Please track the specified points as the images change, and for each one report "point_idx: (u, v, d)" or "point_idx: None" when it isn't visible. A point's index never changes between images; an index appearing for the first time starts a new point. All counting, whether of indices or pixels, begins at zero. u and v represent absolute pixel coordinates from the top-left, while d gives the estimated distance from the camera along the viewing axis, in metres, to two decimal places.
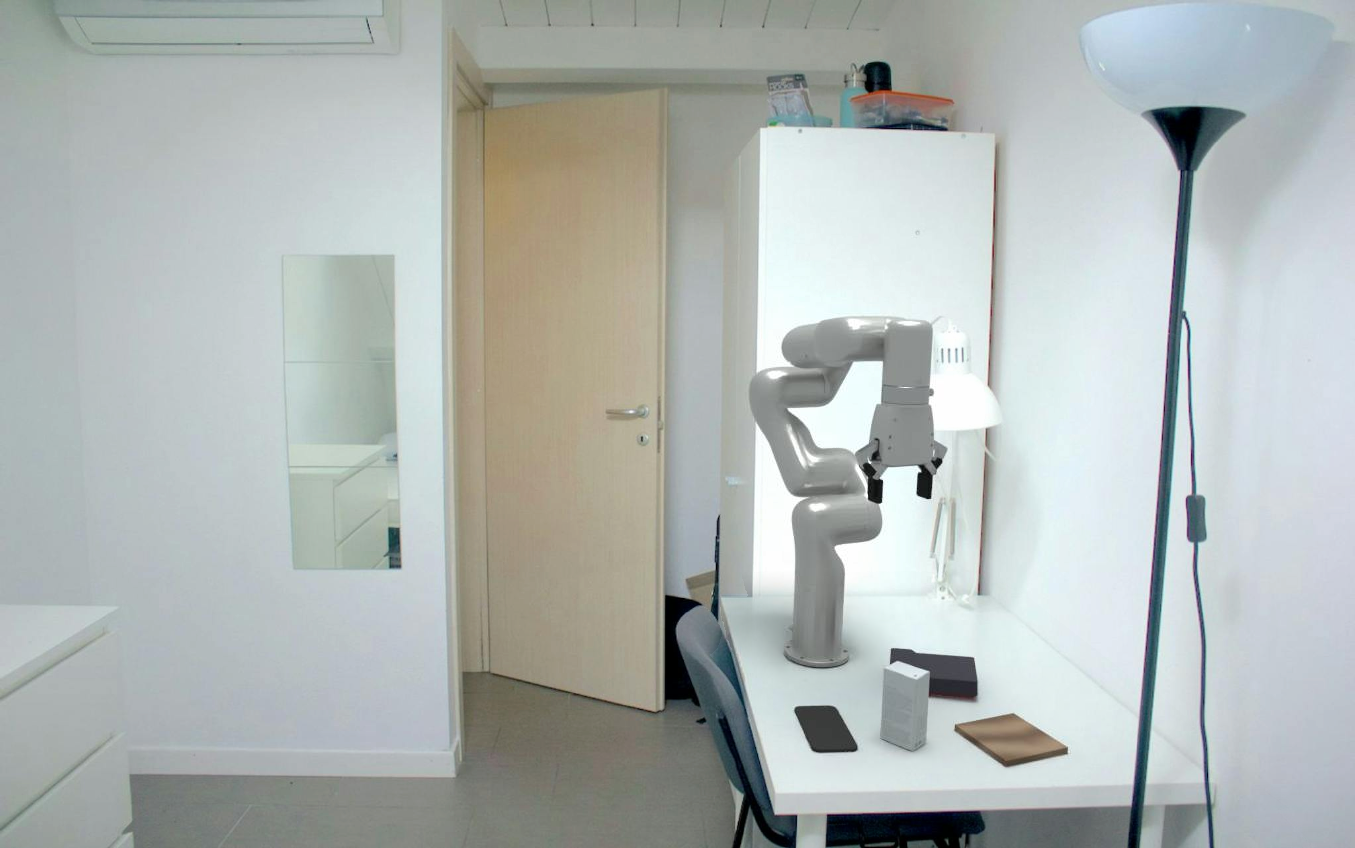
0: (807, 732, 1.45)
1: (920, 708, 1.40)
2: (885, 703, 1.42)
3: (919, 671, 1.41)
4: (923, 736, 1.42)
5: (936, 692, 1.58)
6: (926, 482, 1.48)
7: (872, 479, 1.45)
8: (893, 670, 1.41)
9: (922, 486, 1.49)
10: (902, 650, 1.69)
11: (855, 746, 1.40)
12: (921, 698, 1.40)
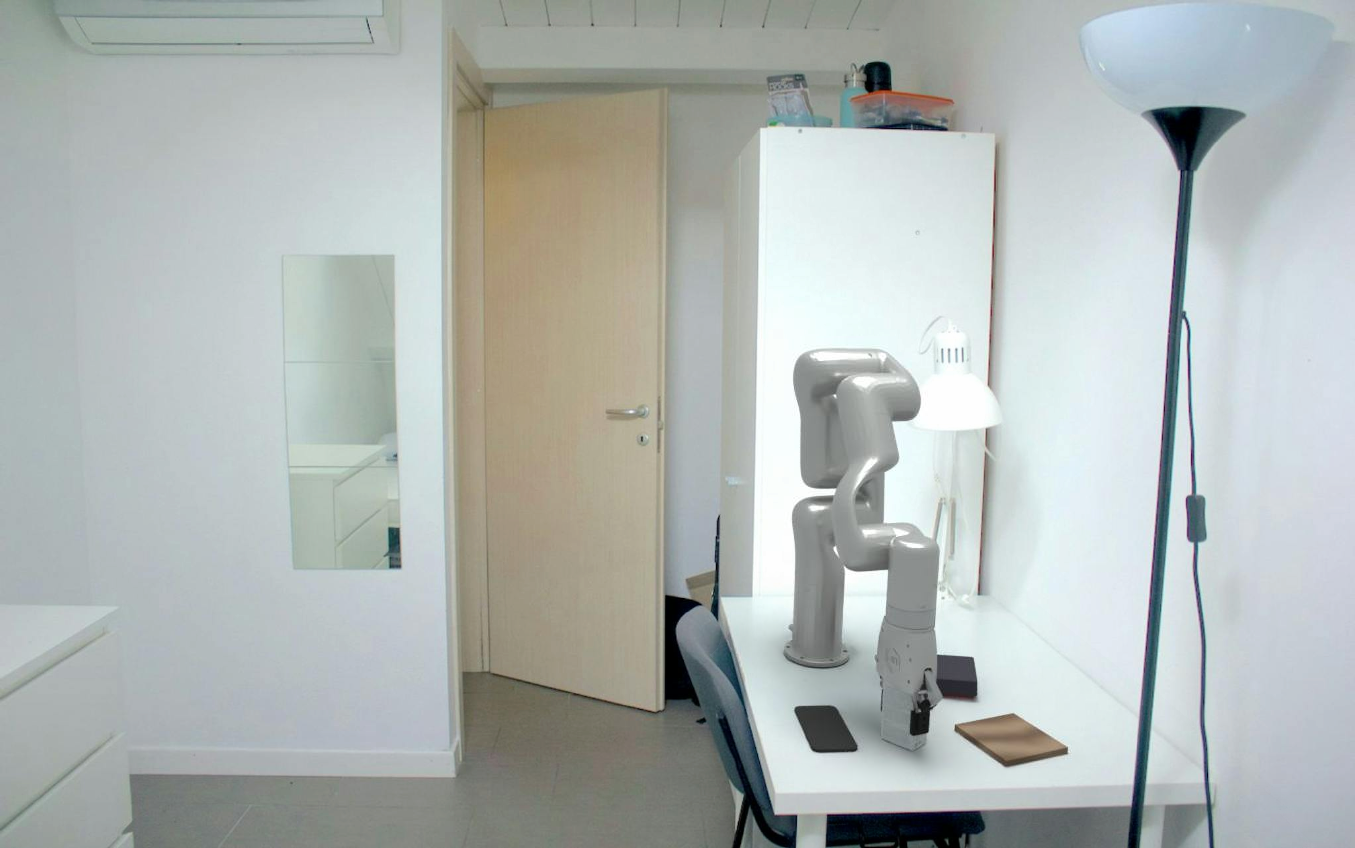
0: (807, 732, 1.45)
1: None
2: (885, 703, 1.42)
3: None
4: (923, 736, 1.42)
5: None
6: None
7: (927, 712, 1.38)
8: None
9: None
10: None
11: (855, 746, 1.40)
12: (921, 697, 1.40)
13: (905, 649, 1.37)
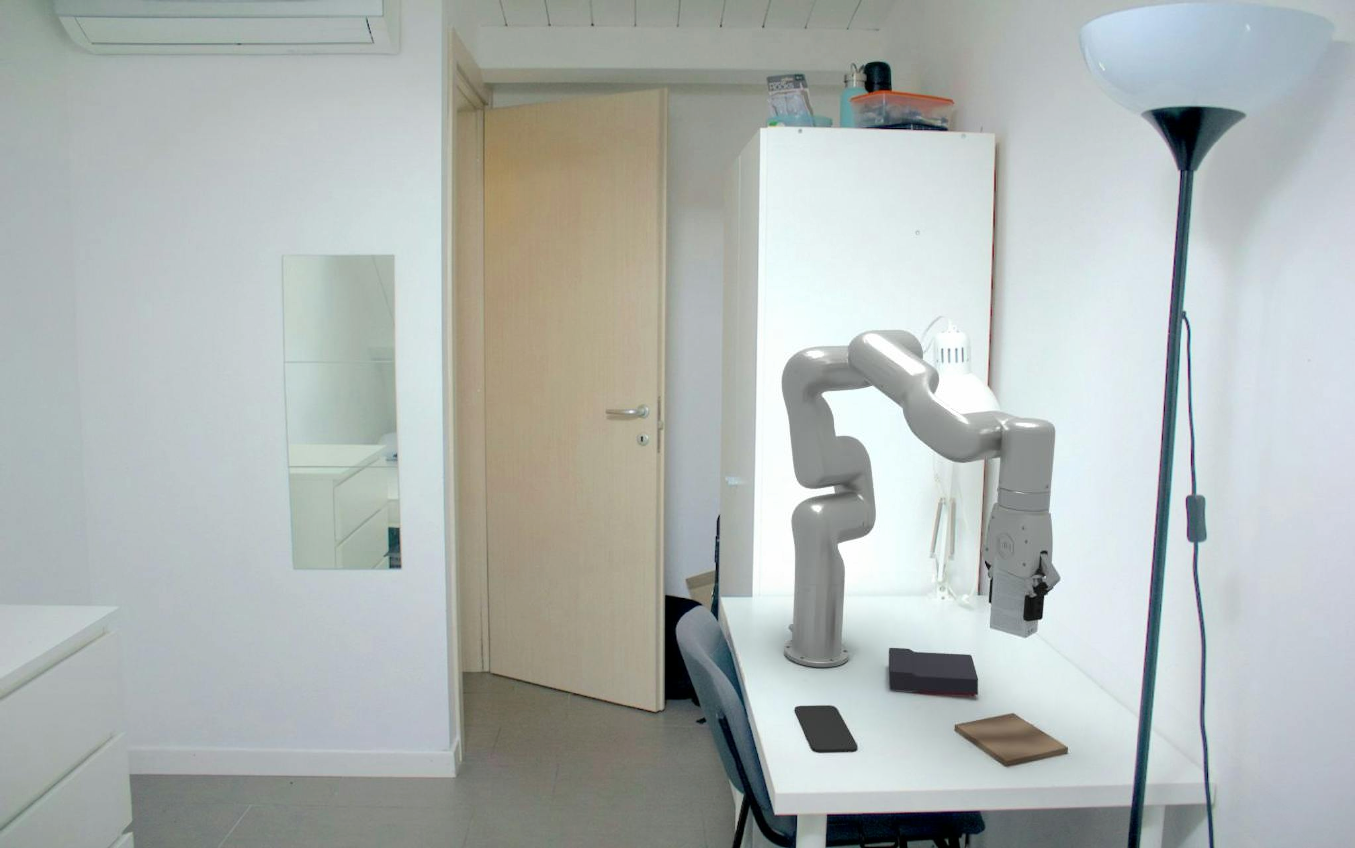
0: (807, 732, 1.45)
1: None
2: (995, 591, 1.40)
3: None
4: (1035, 624, 1.39)
5: (937, 691, 1.59)
6: None
7: (1042, 597, 1.35)
8: None
9: None
10: (900, 650, 1.69)
11: (855, 746, 1.40)
12: (1034, 583, 1.37)
13: (1020, 532, 1.34)
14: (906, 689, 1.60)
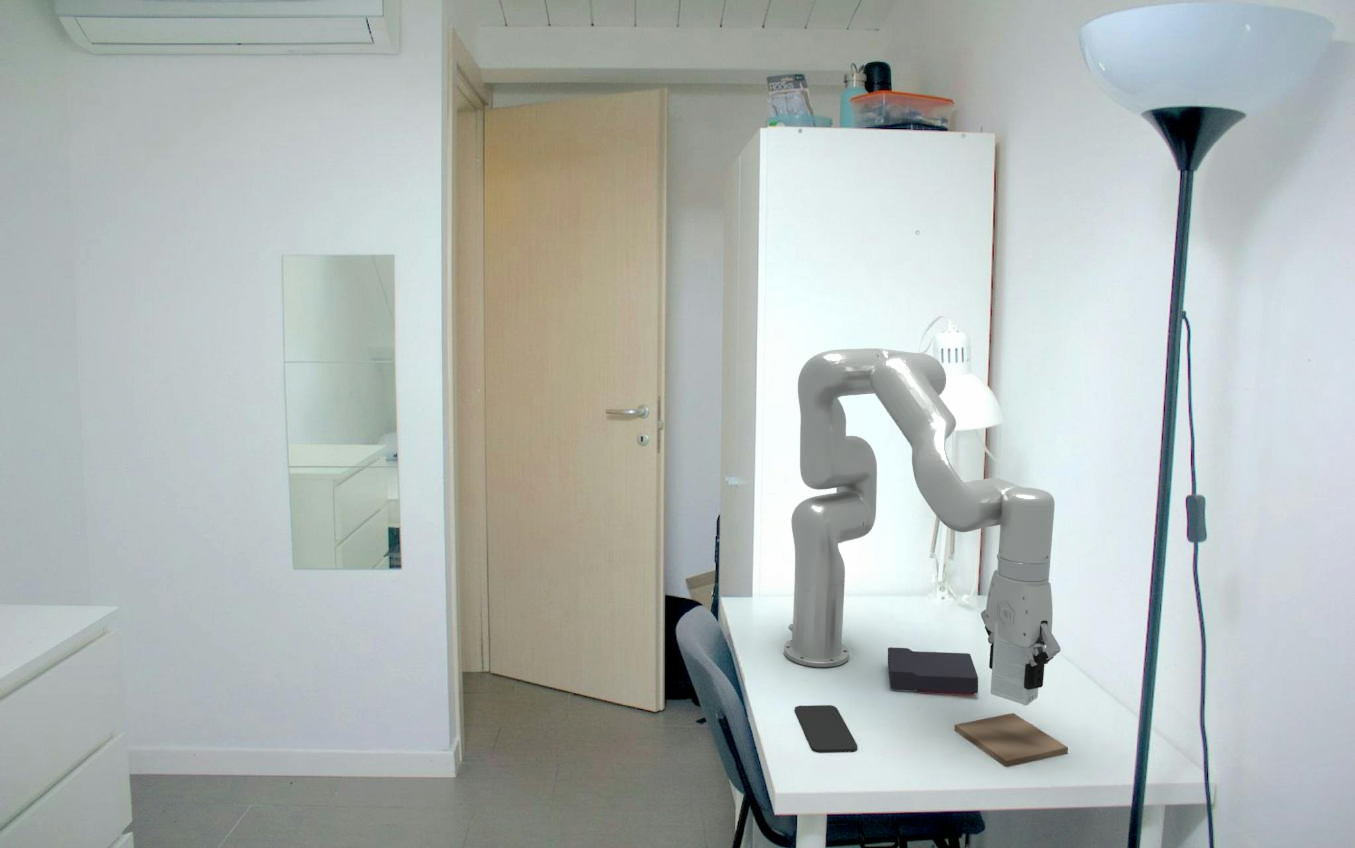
0: (807, 732, 1.45)
1: None
2: (996, 658, 1.41)
3: None
4: (1036, 691, 1.41)
5: (937, 690, 1.59)
6: None
7: (1042, 665, 1.37)
8: None
9: None
10: (899, 649, 1.69)
11: (855, 746, 1.40)
12: (1035, 651, 1.39)
13: (1020, 602, 1.36)
14: (907, 689, 1.60)
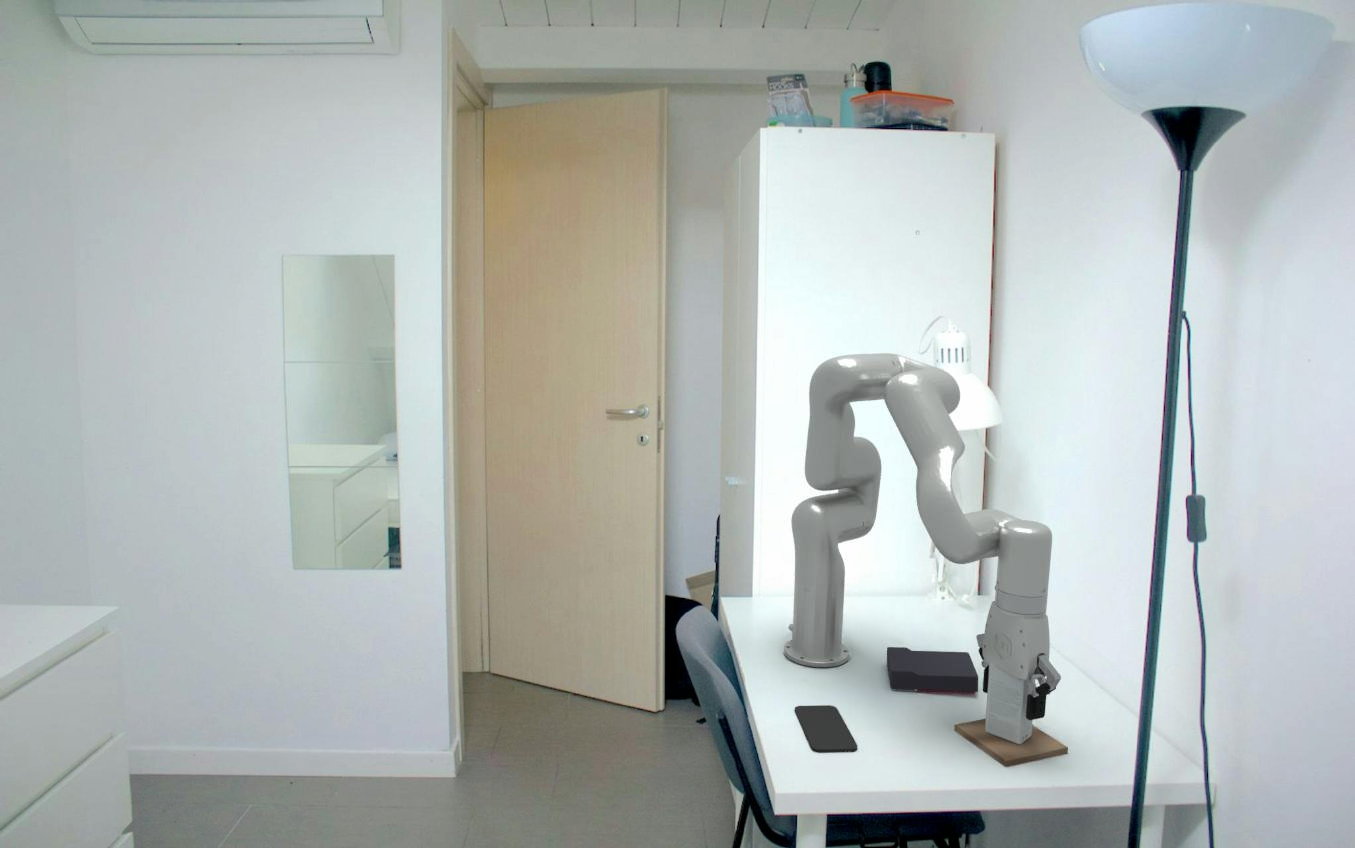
0: (807, 732, 1.45)
1: None
2: (990, 696, 1.43)
3: None
4: (1029, 730, 1.42)
5: (938, 689, 1.60)
6: None
7: (1044, 696, 1.37)
8: None
9: None
10: (898, 649, 1.70)
11: (855, 746, 1.40)
12: (1028, 691, 1.40)
13: (1018, 634, 1.37)
14: (907, 688, 1.60)
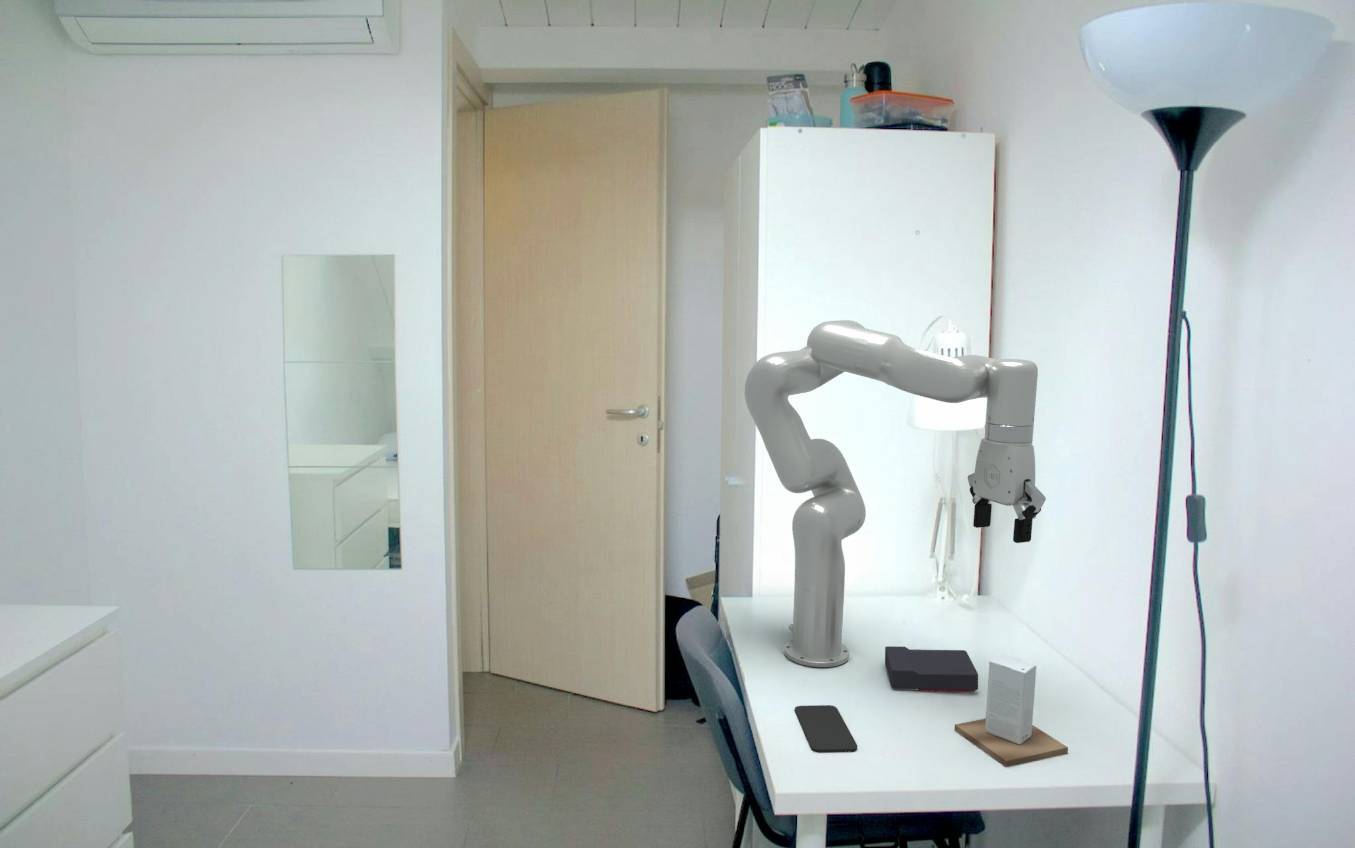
0: (807, 732, 1.45)
1: (1027, 702, 1.40)
2: (990, 696, 1.43)
3: (1026, 665, 1.41)
4: (1029, 730, 1.42)
5: (938, 688, 1.60)
6: (989, 511, 1.56)
7: (1030, 520, 1.46)
8: (999, 663, 1.42)
9: (984, 516, 1.56)
10: (897, 648, 1.70)
11: (855, 746, 1.40)
12: (1028, 691, 1.40)
13: (1006, 462, 1.46)
14: (908, 687, 1.61)
